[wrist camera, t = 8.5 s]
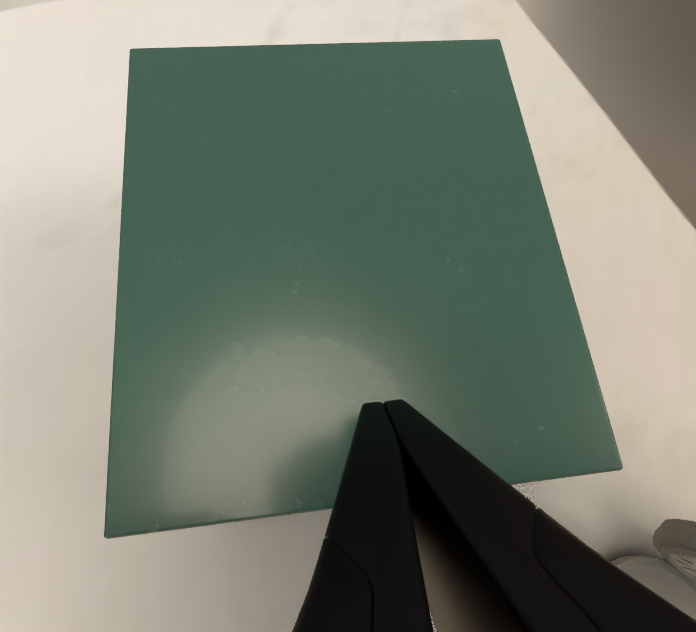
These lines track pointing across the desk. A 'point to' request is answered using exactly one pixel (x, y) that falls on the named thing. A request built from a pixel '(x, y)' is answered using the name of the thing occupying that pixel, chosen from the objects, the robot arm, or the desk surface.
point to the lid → (333, 278)
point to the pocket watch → (669, 565)
